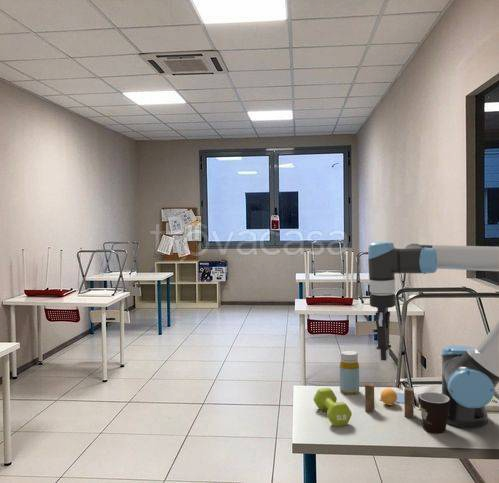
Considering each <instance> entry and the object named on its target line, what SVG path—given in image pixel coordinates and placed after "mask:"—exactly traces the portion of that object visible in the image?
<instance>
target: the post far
mask: <svg viewBox="0 0 499 483" xmlns="http://www.w3.org/2000/svg"><path fill="white" fill-rule="evenodd" d="M364 403H365V404H364V405H365V407H364V408H365V409H364V410H365V412H367V413H375V412H374V411H375V383H374V382H373V383H372V382H365V384H364Z"/></svg>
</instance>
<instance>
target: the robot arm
mask: <svg viewBox="0 0 499 483" xmlns="http://www.w3.org/2000/svg"><path fill="white" fill-rule="evenodd" d="M367 256H368V257H367V258H368V259H367V261H368V264H367V265H368V278H369V279H368V280H369V281H367V286H369V293H370V294H369V306H370V307H372V308H376V309H377V310H376V312H375V314H374V316H375V319H376V320H375V324H376V336H377V346H376V350H378V356H379V360H378V362H379V371H388V372H389V371H390V349H389V348H392V345H391V344H390V323H391V322H390V321H391V320H390V317H391V311H390V310H389V308H394V307H395V306H396V294H395V292H396V279H395V277H396V276H395V274H423V275H427V274H434V273H436V272H437V271H438V270H439V269H440V270H459V271H460V270H461V271H462V270H463V271H481V272H482V271H484V272H486V271H487V272H499V246H483V245H482V246H480V245H446V244H443V245H442V244H439V245H438V244H419V243H409V244H407V245H406V246H405V247H404V248H395V244H394V243H393V242H392V241H376V242H371V243H370V244H369V245H368V254H367ZM440 357H441V394H444V395H446V396H448V397H449V407H448V415H447V423H446V424H448V425H450V426H451V425H452V426H454V427H455V426H456V427H460V428H469V429H470V428H471V429H472V428H479V427H483V426H486V424H487V423H488V419H489V416H488V411H487V408H486V406H487V405H488V404H490V402H492V400H493V397H494V395H495V387H497V385H498V384H499V320H498V321H497V323H496V324H495V325H494V326H493V327H492V328H491V330H490V331H489V332H488V333H487V334H486V336H485V337H484V338H483V339H482V340H481V341H480V343H479V344H478V345H477V346H476V347H475V346H474V347H473V346H468V345H446V346H443V347H442V349H441V356H440Z"/></svg>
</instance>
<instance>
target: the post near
mask: <svg viewBox="0 0 499 483" xmlns="http://www.w3.org/2000/svg"><path fill="white" fill-rule="evenodd" d="M403 389H404V392H403V393H404V405H403V406H404V417H405V418H409V419H410V418H411V419H413V418H414V415H415V413H414V412H415V411H414V408H415V407H414V404H415V403H414V397H415V396H414V390H415V389H414V387H408V386H405V387H404V388H403Z"/></svg>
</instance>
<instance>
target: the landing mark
mask: <svg viewBox="0 0 499 483" xmlns="http://www.w3.org/2000/svg"><path fill="white" fill-rule="evenodd" d="M395 392H396V391H395ZM396 394H397V400H396V402H395V403H394V404H396V403H397V404H404V392H396ZM379 401H381V402H383V401H382V400H381V397H380V398H379Z"/></svg>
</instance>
